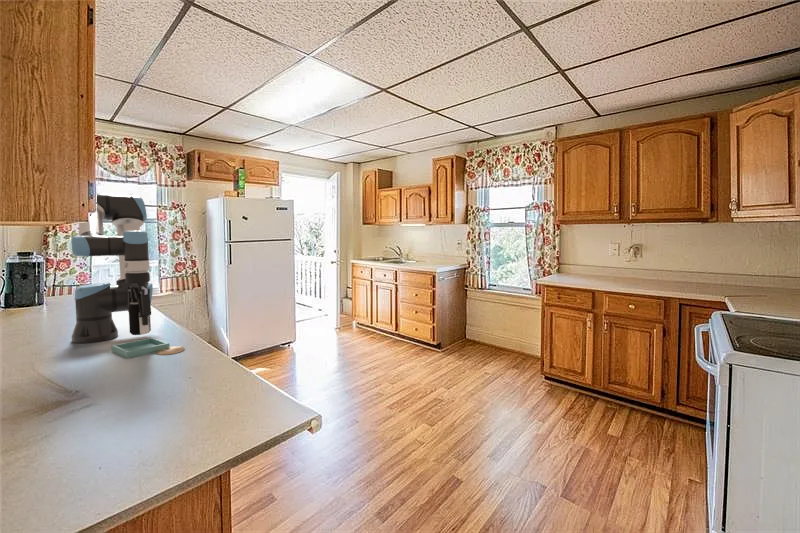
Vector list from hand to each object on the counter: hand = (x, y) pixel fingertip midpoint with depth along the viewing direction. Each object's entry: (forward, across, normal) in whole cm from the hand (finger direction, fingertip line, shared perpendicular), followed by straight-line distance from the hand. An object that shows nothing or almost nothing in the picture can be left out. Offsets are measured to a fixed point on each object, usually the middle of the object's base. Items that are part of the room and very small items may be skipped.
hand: (140, 332), depth 140 cm
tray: (+7, 0, 0) cm, 7 cm away
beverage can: (+1, 0, 0) cm, 1 cm away
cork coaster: (+7, +10, +6) cm, 14 cm away
